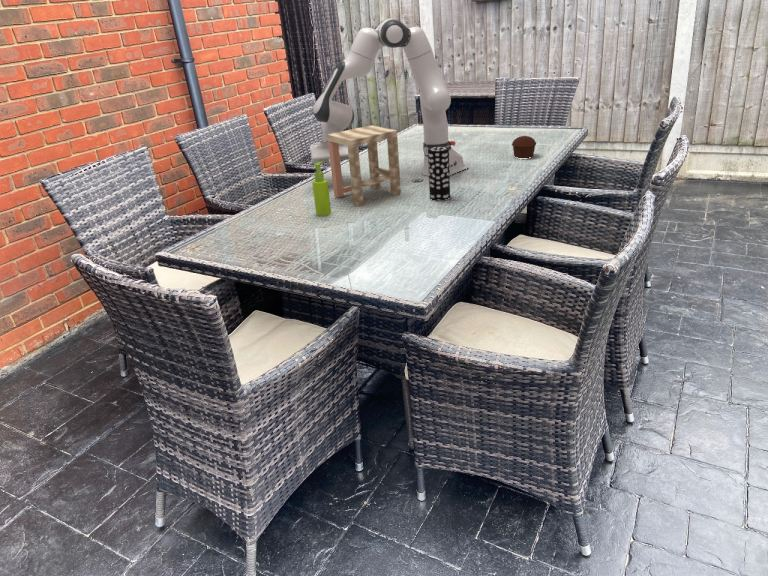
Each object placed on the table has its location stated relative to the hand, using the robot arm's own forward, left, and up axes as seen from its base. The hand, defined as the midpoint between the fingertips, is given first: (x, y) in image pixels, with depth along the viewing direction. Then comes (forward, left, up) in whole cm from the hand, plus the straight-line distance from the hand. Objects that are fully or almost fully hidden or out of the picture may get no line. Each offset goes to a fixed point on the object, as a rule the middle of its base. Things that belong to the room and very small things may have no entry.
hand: (335, 168), depth 256 cm
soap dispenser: (+21, +23, -10) cm, 33 cm away
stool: (-4, +18, -9) cm, 21 cm away
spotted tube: (-22, +43, -10) cm, 50 cm away
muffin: (-91, +25, -10) cm, 95 cm away
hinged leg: (+1, +10, -9) cm, 14 cm away
